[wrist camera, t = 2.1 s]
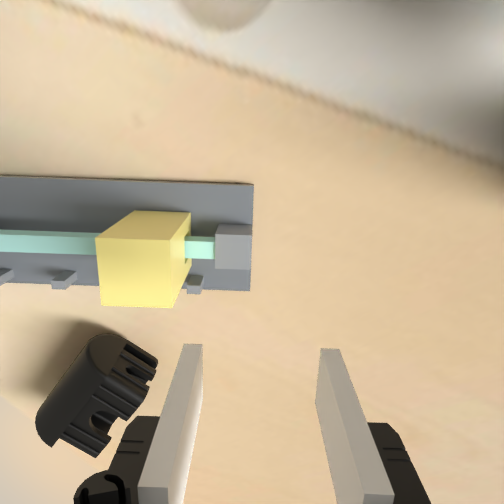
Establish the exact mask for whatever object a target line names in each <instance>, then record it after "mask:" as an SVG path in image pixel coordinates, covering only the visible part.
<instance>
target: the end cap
mask: <svg viewBox="0 0 504 504" xmlns="http://www.w3.org/2000/svg"><path fill="white" fill-rule="evenodd" d="M157 364H158V360H157V359H156V358H155V357H154V356H152V355H150V354H149V353H147V352H146V351H144V350H143V349H141V348H139V347H138V346H136V345H135V344H133V343H132V342H130V341H128V340H126V339H124V338H122V337H119V336H116V335H112V334H101V335H97V336H95V337H93V338H92V339H91V340H90V341H89V342H88V343H87V344H86V346H85V347H84V348H83V350H82V351H81V352H80V354H79V355H78V356H77V358H76V359H75V361H74V362H73V363H72V365H71V366H70V367H69V369H68V370H67V371H66V373H65V374H64V375H63V377H62V378H61V380H60V381H59V382H58V384H57V385H56V386H55V388H54V389H53V390H52V392H51V393H50V394H49V396H48V397H47V399H46V400H45V401H44V403H43V404H42V405H41V407H40V408H39V410H38V412H37V415H36V420H35V424H36V430H37V432H38V435H39V436H40V437H41V439H42V440H43V441H44V442H45V443H46V444H47V445H48V446H50V447H52V446H53V445H54V444H55V442H56V441H57V440H58V439H59V438H60V439H62V440H64V441H66V442H67V443H69V444H71V445H73V446H75V447H76V448H78V449H80V450H82V451H84V452H85V453H87V454H89V455H91V456H92V457H94V458H96V457H97V456H98V455H99V454H100V453H101V451H102V450H103V449H104V448H105V447H106V445H107V444H108V443H109V442H110V440H111V438H112V437H110V436H108V435H107V434H108V432H109V430H110V427H111V426H112V424H113V423H114V421H115V420H116V419H117V418H118V417H120V418H121V419H123V420H125V421H127V420H128V419H129V418H130V417H131V416H132V414H133V413H134V412H135V411H136V410H137V408H138V407H139V406H140V405H141V404H142V402H143V401H144V399H145V397H146V395H147V393H148V390H149V388H150V387H149V386H147V385H146V382H147V381H148V380H150V381H152V379H153V378H154V375H155V373H156V370H155V368H156V367H157Z"/></svg>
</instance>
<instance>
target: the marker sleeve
mask: <svg viewBox="0 0 504 504" xmlns="http://www.w3.org/2000/svg"><path fill="white" fill-rule="evenodd" d="M185 236H191V212H165V211H137V210H134V211H133V212H132V213H130V214H129V215H127V216H126V217H124V218H123V219H121V220H120V221H118V222H117V223H116V224H114V225H113V226H111V227H110V228H108V229H107V230H105V231H104V232H103V233H101V234H100V235H98V236H97V237H95V244H96V254H97V265H98V275H99V285H100V295H101V305H102V306H128V307H157V308H172V307H173V305H174V303H175V301H176V298H177V296H178V294H179V292H180V290H181V287H182V285H183V283H184V281H185V279H186V277H187V274H188V272H189V270H190V268H191V266H192V258H185V241H184V237H185Z"/></svg>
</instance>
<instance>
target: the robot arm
mask: <svg viewBox="0 0 504 504" xmlns="http://www.w3.org/2000/svg"><path fill="white" fill-rule="evenodd" d="M202 400H203V360H202V344H184V346H183V349H182V352H181V355H180V358H179V361H178V364H177V367H176V370H175V373H174V376H173V379H172V382H171V385H170V388H169V391H168V395H167V398H166V401H165V404H164V407H163V410H162V413H161V416H160V417H158V416H137V417H136V418H135V419H134V420H133V421H132V422H131V423H130V424H129V425H128V426H127V427H126V429H125V432H124V434H123V436H122V439H121V443H120V444H119V446H118V448H117V451H116V454H115V455H114V458H113V460H112V462H111V465H110V467H109V469H108V470H105V471H102V472H99V473H96V474H94V475H92V476H91V477H89V478H87V479H86V480H85V481H84V482H83V483H82V484H81V485H80V486H79V487H78V489H77V491H76V493H75V495H74V498H73V499H74V504H183V500H184V494H185V489H186V484H187V479H188V474H189V468H190V463H191V458H192V453H193V447H194V442H195V437H196V432H197V427H198V421H199V416H200V411H201V406H202ZM315 404H316V409H317V413H318V418H319V423H320V427H321V432H322V436H323V441H324V445H325V450H326V454H327V459H328V463H329V468H330V473H331V477H332V482H333V486H334V491H335V495H336V500H337V504H431V502H430V500H429V498H428V496H427V494H426V491H425V489H424V487H423V485H422V483H421V481H420V479H419V477H418V474H417V472H416V470H415V468H414V466H413V464H412V462H411V461H410V457H409V455H408V453H407V451H405V447H404V445H403V442H402V440H401V438H400V436H399V434H398V433H397V432H396V431H395V430H394V429H393V428H392V427H391V426H390V425H389V424H388V423H369V422H367V421H366V418H365V416H364V413H363V410H362V408H361V405H360V403H359V400H358V397H357V395H356V392H355V389H354V387H353V384H352V382H351V379H350V376H349V374H348V371H347V368H346V366H345V363H344V361H343V358H342V355H341V353H340V350H339V349H324V348H321V352H320V361H319V371H318V380H317V390H316V399H315Z"/></svg>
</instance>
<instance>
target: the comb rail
mask: <svg viewBox="0 0 504 504" xmlns="http://www.w3.org/2000/svg"><path fill="white" fill-rule="evenodd" d="M253 192H254V184H227V183H199V182H172V181H144V180H116V179H88V178H61V177H33V176H5V175H0V286H1V285H2V284H4V283H34V284H51V285H52V289H67V288H68V287H69V286H70V285H91V286H100V285H99V275H98V265H97V254H96V244H95V237H97V236H98V235H100V234H101V233H103V232H104V231H105V230H107V229H108V228H110V227H111V226H113V225H114V224H116V223H117V222H118V221H120V220H121V219H123V218H124V217H126V216H127V215H129V214H130V213H132V212H133V211H134V210H137V211H165V212H191V236H185V237H184V241H185V258H192V266H191V268H190V270H189V272H188V274H187V277H186V279H185V281H184V283H183V285H182V287H181V289H187V294H201V291H202V289H206V290H235V291H250V275H251V250H252V219H253Z"/></svg>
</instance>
